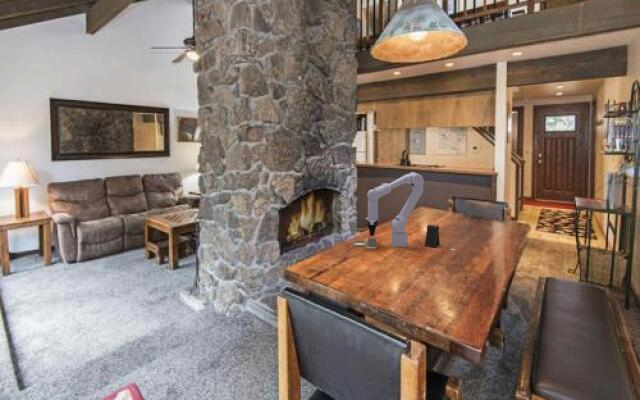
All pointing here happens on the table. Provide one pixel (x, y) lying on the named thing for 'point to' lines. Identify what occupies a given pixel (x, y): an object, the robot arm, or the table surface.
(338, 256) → the table surface
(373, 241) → the gray block
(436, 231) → the phone stand
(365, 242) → the door board
